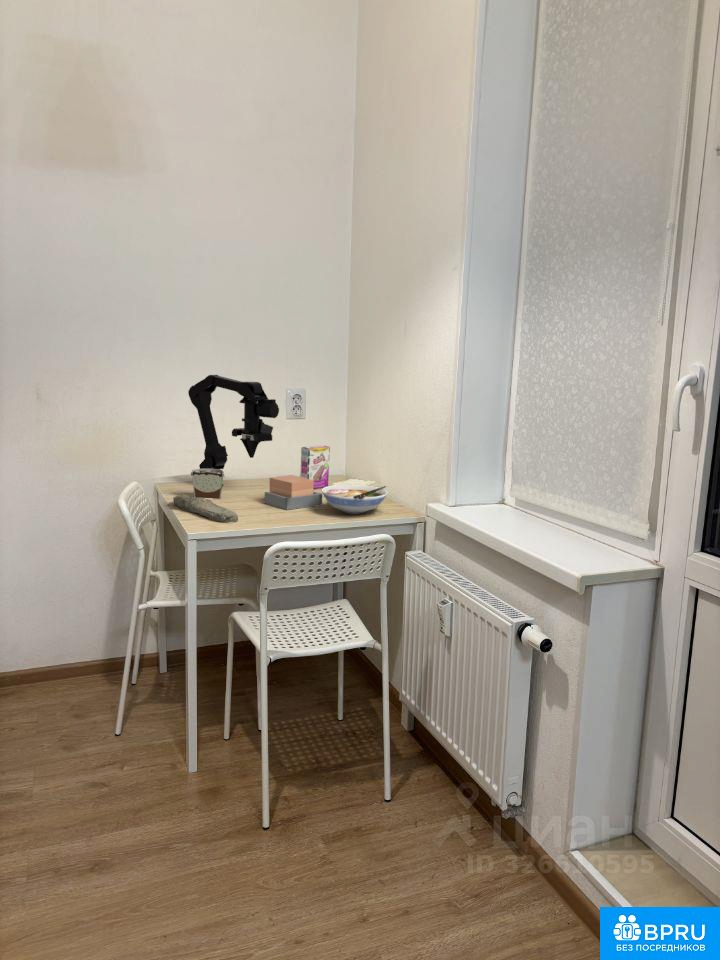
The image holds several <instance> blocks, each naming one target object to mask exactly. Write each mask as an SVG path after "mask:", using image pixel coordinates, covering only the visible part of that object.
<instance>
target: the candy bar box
mask: <svg viewBox="0 0 720 960" xmlns="http://www.w3.org/2000/svg"><path fill="white" fill-rule="evenodd" d="M330 451H331V447H330V446H327V445H311V446H310V445H309V446H302V447H301V451H300V452H301V453H300V454H301V455H300V475H299V477H303V478H307V479H312V480H314V482H313V490H318V489H323V488H324V487H327V486H329V473H330V472H329V471H330Z"/></svg>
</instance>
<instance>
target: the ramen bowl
mask: <svg viewBox="0 0 720 960" xmlns="http://www.w3.org/2000/svg"><path fill="white" fill-rule="evenodd" d="M387 487H388V486H385V485H384V486H381V487H379V486H373V485H367V484H365V485H363V484H336V485H335V484H333V485H328V486H327V487H324V488H320V489H321V492H322V496H324V498H325V500H326V501H327V503H328V505H330V506H331V507H333V508H335V509H337V510H339V511H342V512H343V513H345V514H350V515H351V514H352V515H360V514H359V513H361V514H364V513H365V512H367V511H371V510H373V509H376V508H377V507H379V506H380V505H381V504H382V503H383V501H384V500H385V498H386V497H387V495H388V493H389V492H388V491H387V490H386V489H385V488H387Z"/></svg>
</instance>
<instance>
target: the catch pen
mask: <svg viewBox="0 0 720 960" xmlns="http://www.w3.org/2000/svg"><path fill="white" fill-rule="evenodd" d="M265 503H266V504H265ZM264 504H265V505H269V504H270V505H269V506H272V505H273V506H272V507H275V506H276V507H275V508H278V507H279V509H281V510H285V509H286V510H285V511H290V510H289V509H292V510H296V508H298V509H303V507H305V508H310V507H317V506H322V505H323V493H320V492H317V491H314V490H313V494H311V495H304V496H297V497H289V498H287V497H284V496H280V495H277V494H273V493H270V491H264Z"/></svg>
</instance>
